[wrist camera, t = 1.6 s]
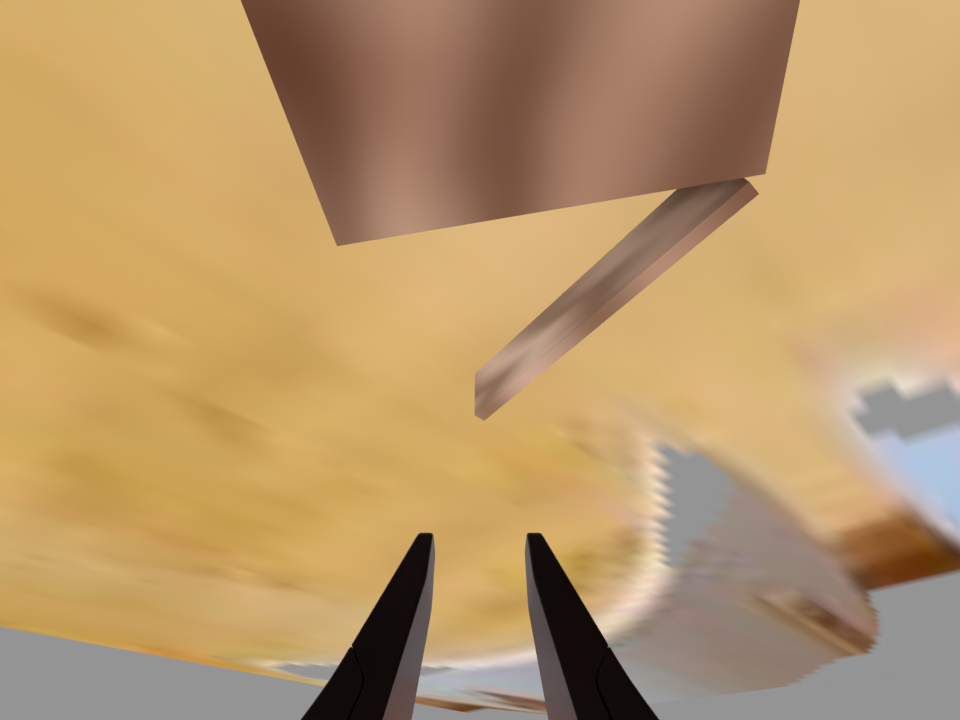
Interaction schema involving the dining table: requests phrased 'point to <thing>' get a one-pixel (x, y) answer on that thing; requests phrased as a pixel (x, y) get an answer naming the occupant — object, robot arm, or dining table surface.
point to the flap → (609, 286)
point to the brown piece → (519, 102)
